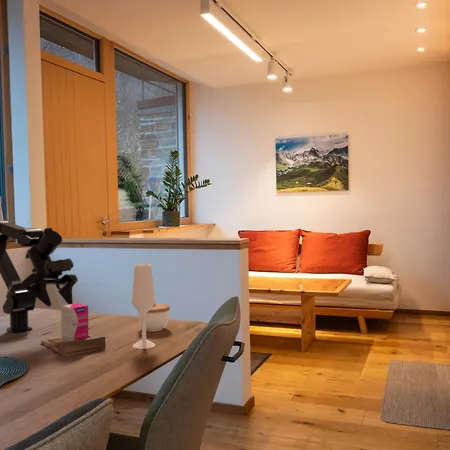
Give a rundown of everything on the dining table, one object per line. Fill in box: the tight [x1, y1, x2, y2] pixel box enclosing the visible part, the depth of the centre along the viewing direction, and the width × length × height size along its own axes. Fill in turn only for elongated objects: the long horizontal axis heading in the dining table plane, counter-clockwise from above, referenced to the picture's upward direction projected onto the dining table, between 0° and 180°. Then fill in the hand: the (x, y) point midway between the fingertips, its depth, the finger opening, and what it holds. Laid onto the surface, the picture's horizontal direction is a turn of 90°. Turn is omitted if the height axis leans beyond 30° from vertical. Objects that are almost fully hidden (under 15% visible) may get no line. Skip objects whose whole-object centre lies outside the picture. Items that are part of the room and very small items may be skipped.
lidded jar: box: [137, 302, 171, 333], centre depth 174 cm, size 11×11×9 cm
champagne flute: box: [131, 263, 156, 350], centre depth 154 cm, size 7×7×24 cm
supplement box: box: [60, 302, 89, 342], centre depth 153 cm, size 6×6×12 cm
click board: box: [40, 333, 106, 357], centre depth 155 cm, size 18×12×4 cm, turn 40°
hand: (60, 305), depth 160 cm, fingers open, 9 cm apart
